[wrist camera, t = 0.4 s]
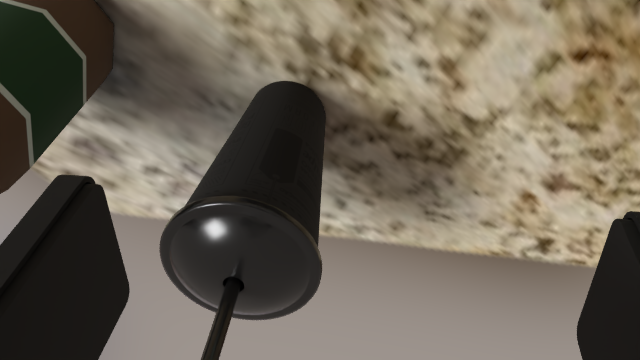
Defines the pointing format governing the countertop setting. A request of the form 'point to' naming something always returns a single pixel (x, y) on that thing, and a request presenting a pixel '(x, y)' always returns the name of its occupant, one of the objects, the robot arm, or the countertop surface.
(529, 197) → the countertop surface
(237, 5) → the countertop surface
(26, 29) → the beer bottle
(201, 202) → the drinking cup
